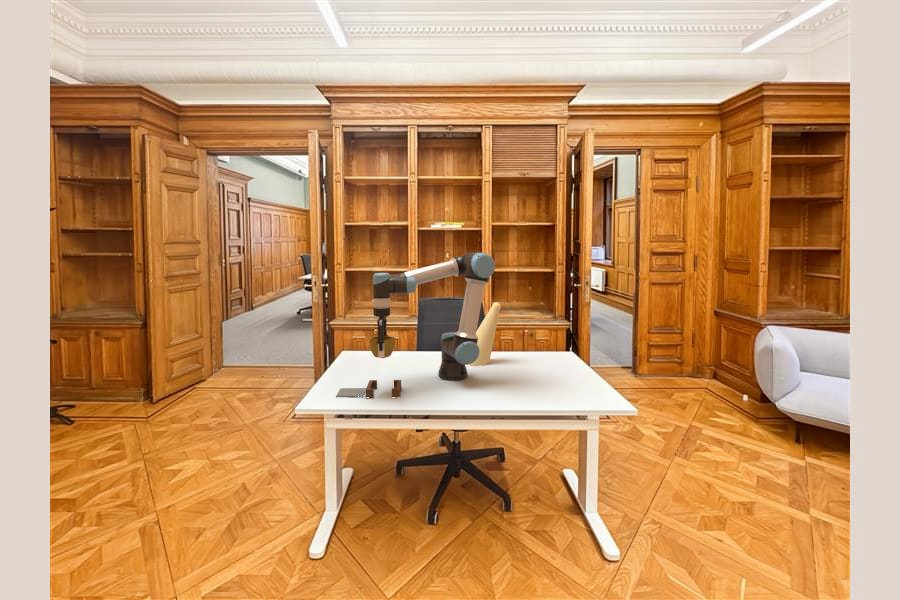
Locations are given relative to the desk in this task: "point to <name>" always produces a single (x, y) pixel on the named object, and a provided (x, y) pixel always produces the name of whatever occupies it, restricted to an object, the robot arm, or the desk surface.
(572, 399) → the desk surface
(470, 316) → the robot arm
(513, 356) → the desk surface
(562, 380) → the desk surface
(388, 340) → the flower pot
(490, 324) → the cone light
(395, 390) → the pair of brown brackets
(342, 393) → the slate mat
